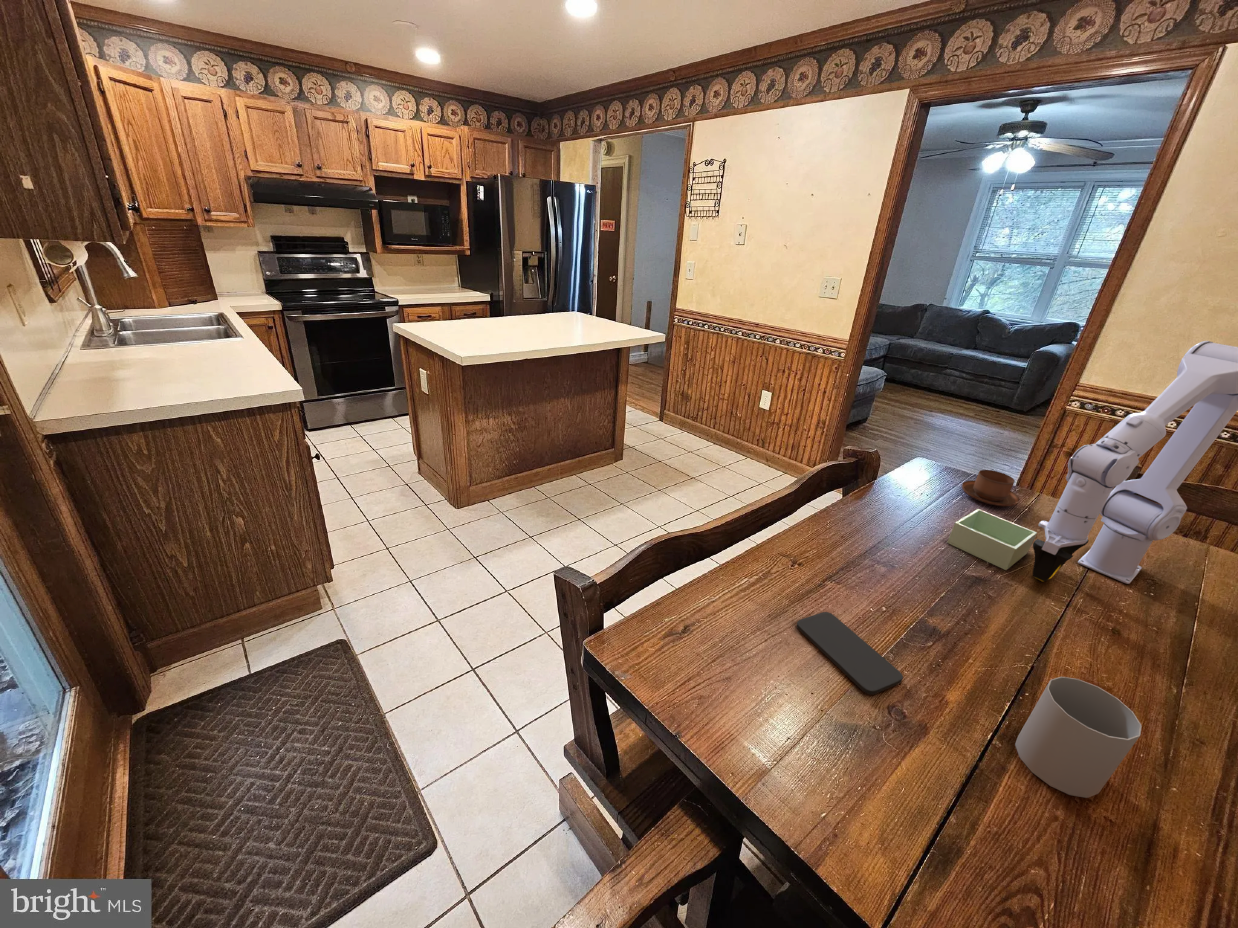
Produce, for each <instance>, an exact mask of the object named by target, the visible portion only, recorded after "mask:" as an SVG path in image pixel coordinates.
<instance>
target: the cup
mask: <svg viewBox="0 0 1238 928" xmlns="http://www.w3.org/2000/svg"><path fill="white" fill-rule="evenodd" d="M1141 733H1142V724H1141V722H1140V720H1139V719H1138V718H1137V716H1136V714H1135V713H1134V711H1133V710H1131V708H1129V707H1128V706H1127V705H1125V703H1123V702H1122V701H1121V700H1120V699H1119V698H1118V697H1116V696H1115V695H1114V694H1111V693H1110V692H1108V691H1106V690H1104V689H1103V688H1102V687H1100V686H1098V685H1095V684H1092V683H1090V682H1087V681H1084V680H1082V679H1080V678H1074V677H1068V676H1059V677H1055V678H1051V679H1050V680H1049V681H1048V682H1047V684H1046V687H1045V688H1044V690H1043V692H1042V693H1041V695H1040V697H1039V699H1038V701H1037V702H1036V704H1035V706H1034V708H1033V709H1032V711H1031V713H1030V714H1029V716H1028V717H1027V720H1026V721H1025V723H1024V725H1023V727H1022V729H1020V732H1019V734H1018V735H1017V738H1016V741H1015V743H1014V746H1015V749H1016V751H1017V754H1018V757H1019V759H1020V760H1021V761H1022V762H1023V764H1024V765H1025V766H1026V767H1027V768H1028V769H1029V771H1030V772H1031V773H1032V774H1034V775H1035V776H1036V777H1037V778H1039V779H1040V780H1042V781H1043V782H1044V783H1045V784H1047V785H1048V786H1050V787H1052V788H1054V789H1056V790H1058V791H1060V792H1062V793H1064V794H1066V795H1068V796H1074V797H1079V798H1085V799H1089V798H1091V797H1093V796H1095V795H1098V794H1099V793H1101V791H1102V789H1103V788H1104V787H1105V785H1106V784H1107V782H1108V781H1109V779H1110V778H1111V777H1112V776H1113V774H1114V773H1115V771H1116V770H1117V769H1118V767H1120V764H1122V762H1123V760H1124V759H1125V757H1126V756H1127V755H1128V753H1129V752H1130V751H1131V750H1132V748H1133V747H1134V745H1136V742H1137V741H1138V739H1139V738H1141Z"/></svg>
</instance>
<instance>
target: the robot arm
mask: <svg viewBox="0 0 1238 928" xmlns="http://www.w3.org/2000/svg"><path fill="white" fill-rule="evenodd" d="M1190 408H1191V409H1190ZM1189 409H1190V411H1189V412H1188V414H1187V415H1186V416H1185V417H1184V419H1183V420H1182V422H1181V423H1180V424H1179V425H1178V427H1177V428H1176V429H1175V431H1174V433H1173V434H1172V436H1171V437H1170V438H1169V439H1168V441H1167V442H1166V443H1165V444H1164V446H1163V448H1162V449H1161V450H1160V451H1159V453H1158V454H1157V455H1156V457H1155V459H1154V460H1153V461H1152V462H1151V464H1150V465H1149V466H1148V468H1147V470H1146V471H1145V472H1144V473H1143V475H1142V476H1141V477H1140V478H1137V479H1130V480H1129V479H1128V478H1129V477H1130V476H1131V474H1132V472H1133V471H1134V469H1135V468H1136V467H1137V466H1138V464H1139V463H1140V460H1139V459H1140V458H1141V457H1142V456H1143V455H1144V454H1145V453H1147V452H1148V451H1149V450H1150V449H1152V448H1153V446H1155V445H1156V444H1157V443H1159V442H1160V441H1161V440H1162V439H1163V438H1165V437H1166V435H1167V429H1166V426H1167V425H1168V424H1170V423H1171V422H1173V421H1174V420H1176V419H1177V418H1179V416H1181V415H1182V414H1184V413H1185V412H1187V411H1188V410H1189ZM1237 412H1238V346H1234V345H1230V344H1229V345H1228V344H1223V343H1217V342H1213V341H1210V340H1202V341H1200V342H1198V343H1196V344H1195V345H1193V346H1192V347H1190V348H1189V349H1188V350H1187V351H1186V352H1185V354H1184V355H1183V357H1182V358H1181V360H1180V362H1179V365H1178V367H1177V371H1176V378H1174V380H1173V381H1172V382H1171V383H1170V384H1169V385H1167V387H1166V388H1164V390H1163V391H1162V392H1161V393H1160V394H1159V395H1158V396H1157V397H1156V398H1155V399H1154V400H1153V401H1152V402H1151V403H1150V404H1149V405H1148V406H1147V407H1146V408H1145V409H1144V410H1143V411H1142V412H1135V413H1130V414H1128V415H1127V416H1126V417H1124V418H1123V419H1122V420H1121V421H1120V422H1119V423H1117V424H1116V425H1115V426H1114V427H1112V429H1110V430H1109V431H1108V432H1107V433H1106V434H1104V435H1103V436H1102V437H1101V438H1100V439H1099V440H1098V441H1096V442H1095V443H1091V444H1085V445H1082V446H1081V447H1079V448H1078V449H1076V451H1074V453H1073V454H1072V456H1070V457H1069V460H1068V462H1067V469H1068V471H1067V474H1066V476H1065V481H1067V483H1066V486H1065V488H1064V489H1063V492H1062V493H1061V496H1060V497H1059V500H1058V502H1057V504H1056V506H1055V509H1054V510H1053V513H1052V515H1051V516H1050V518H1049V521H1047V520H1041V521H1039V523H1038V527H1040V528H1042V529H1043V530H1044V535H1045V541H1044V540H1041V539H1039V538H1037V539H1034V540H1033V543H1032V548H1033V551H1034V553H1033V554H1034V563H1033V568H1032V577H1034V578H1035V577H1036V578H1035V579H1037V578H1038V579H1037V580H1039V579H1040V580H1042V581H1041V582H1043V581H1044V582H1047V581H1048V580H1050V579H1049V578H1050V577H1051V576H1052V575H1053V573H1054V572H1055V571H1056V569H1057V568H1058V567H1059V566H1060V565H1061V566H1060V568H1059V569H1058V570H1060V569H1061V568H1062V567H1063V566H1064V565H1065V564H1066V563H1067V562H1069V560H1071V559H1072V558H1073V557H1074V555H1073V554H1074V553H1075V552H1076V551H1078V550H1079V549H1081V548H1083V547H1084V546H1087V544H1088V543H1089V535H1090V532H1091V530H1092V529H1093V527H1094V525H1095V523H1096V521H1097V519H1098V517H1099V516H1101V519H1100V522H1102V523H1103V525H1102V527H1101V529H1100V530H1099V532H1098V534H1097V535H1096V538H1095V540H1094V542H1093V543H1092V545H1091V547H1090V548H1089V550H1088V551H1087V552H1085V554H1084V555H1083V556H1082V557H1080V559H1079V560H1078V561H1077V563H1078V564H1079V565H1081V566H1083V567H1086V568H1088V569H1090V570H1092V571H1094V572H1096V573H1100V574H1102V575H1105V576H1107V577H1109V578H1111V579H1114V580H1117V581H1119V582H1121V583H1123V584H1126V585H1130V584H1131V583H1132V581H1133V580H1134V579H1135V577H1136V576H1137V575H1138V574H1139V573H1140V572H1141V570H1142V569H1143V567H1142V566H1141V565H1140V563H1141V562H1142V561H1143V559H1144V557H1145V555H1146V553H1147V552H1148V550H1149V548H1150V546H1151V545H1152V543H1153V541H1154V542H1156V541H1161V540H1164V539H1166V538H1169V536H1171V535H1172V534H1173V533H1174V532H1175V531H1176V530H1177V529H1178V528H1179V526H1180V524H1181V521H1182V519H1183V517H1184V515H1185V513H1186V511H1187V510H1188V506H1187V504H1186V503H1185V501H1184V499H1183V497H1181V495H1180V494H1179V492H1178V489H1179V488H1180V487H1181V485H1182V484H1183V482H1184V481H1185V480H1186V479H1187V477H1188V476H1189V474H1190V473H1191V472H1192V470H1193V469H1194V468H1195V466H1196V465H1197V464H1198V463H1199V461H1200V460H1201V459H1202V457H1203V456H1204V455H1205V453H1206V452H1207V451H1208V449H1209V448H1210V447H1211V446H1212V444H1213V443H1214V442H1215V440H1217V438H1218V437H1219V435H1220V434H1221V433H1222V431H1223V430H1224V429H1225V427H1226V426H1227V425H1228V424H1229V422H1230V421H1231V420H1232V418H1233V417H1234V416H1235V414H1237ZM1127 479H1128V480H1127ZM1137 494H1138V495H1137ZM1142 496H1143V497H1142ZM1040 580H1039V581H1040Z"/></svg>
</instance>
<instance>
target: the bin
mask: <svg viewBox="0 0 1238 928" xmlns="http://www.w3.org/2000/svg"><path fill="white" fill-rule="evenodd" d="M1037 534H1038V532H1036V531H1034V530H1032V529H1030V528H1027V527H1024V526H1022V525H1019V524H1017V523H1015V522H1012V521H1010V520H1007V519H1005V518H1001V517H999V516H997V515H994V514H992V513H990V512H987V511H984V510H982V509H980V508H977V509H975V510H974V511H972V512H969V514H967V515H965V516H963V517H961V518H960V519H958V520H957V521H955V522H954V523H953V527H952V528H951V531H950V533H949V537H948V539H947V541H946V543H947V544H949V545H951V546H953V547H955V548H957V549H960V550H962V551H964V552H966V553H968V554H970V555H972V556H974V557H976V558H978V559H980V560H983V561H985V562H987V563H989V564H991V565H994V566H996V567H998V568H1001V569H1002V570H1004V571H1007V570H1009V569H1010V568H1011V567H1012V566H1013V565H1014V564H1016V563H1018V561H1020V560H1021V559H1022V558H1023V557H1024V556H1026V555H1027V554H1028V553H1029V552H1030V551H1029V550H1030V549H1031V547H1032V546H1033V543H1034V541H1035V539H1036V537H1037Z"/></svg>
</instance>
